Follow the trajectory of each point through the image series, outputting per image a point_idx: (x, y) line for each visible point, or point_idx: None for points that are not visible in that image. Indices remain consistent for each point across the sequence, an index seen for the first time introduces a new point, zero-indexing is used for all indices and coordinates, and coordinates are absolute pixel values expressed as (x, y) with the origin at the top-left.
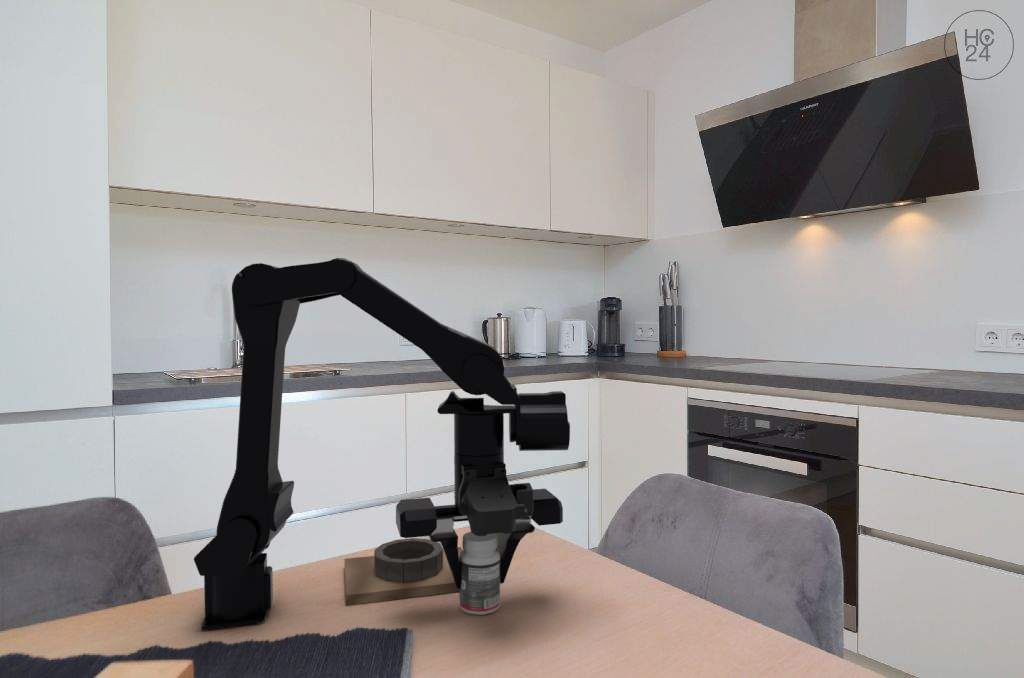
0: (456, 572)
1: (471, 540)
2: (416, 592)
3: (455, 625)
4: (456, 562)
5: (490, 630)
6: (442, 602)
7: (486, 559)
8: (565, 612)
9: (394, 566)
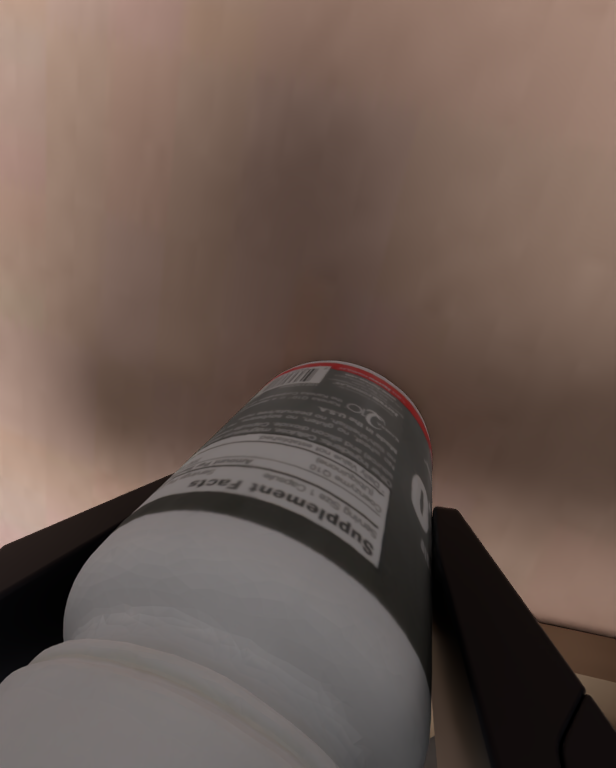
0: (484, 588)
1: None
2: (598, 653)
3: (503, 313)
4: (503, 680)
5: (341, 206)
6: (487, 545)
7: (170, 560)
8: (27, 287)
9: None
